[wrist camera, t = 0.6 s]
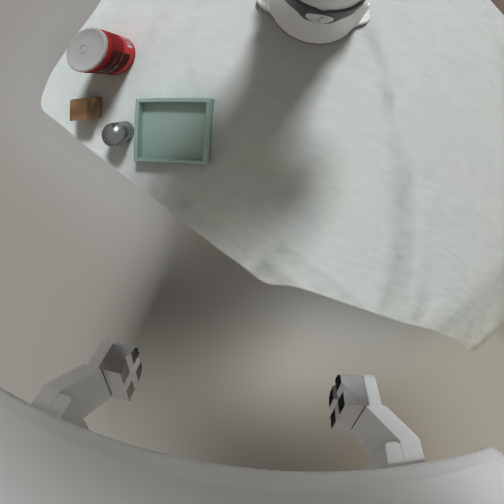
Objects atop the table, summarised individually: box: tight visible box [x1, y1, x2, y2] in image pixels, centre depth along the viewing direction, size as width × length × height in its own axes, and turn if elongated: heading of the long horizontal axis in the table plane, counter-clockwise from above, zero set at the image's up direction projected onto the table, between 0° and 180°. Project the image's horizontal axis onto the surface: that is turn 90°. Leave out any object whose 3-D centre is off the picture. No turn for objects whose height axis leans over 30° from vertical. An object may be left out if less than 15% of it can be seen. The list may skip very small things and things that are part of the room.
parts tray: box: [134, 98, 214, 165], centre depth 48 cm, size 11×13×2 cm
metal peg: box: [102, 121, 134, 146], centre depth 48 cm, size 4×4×5 cm
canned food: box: [67, 28, 135, 75], centre depth 38 cm, size 8×8×11 cm
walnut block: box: [70, 97, 102, 121], centre depth 46 cm, size 4×4×5 cm
